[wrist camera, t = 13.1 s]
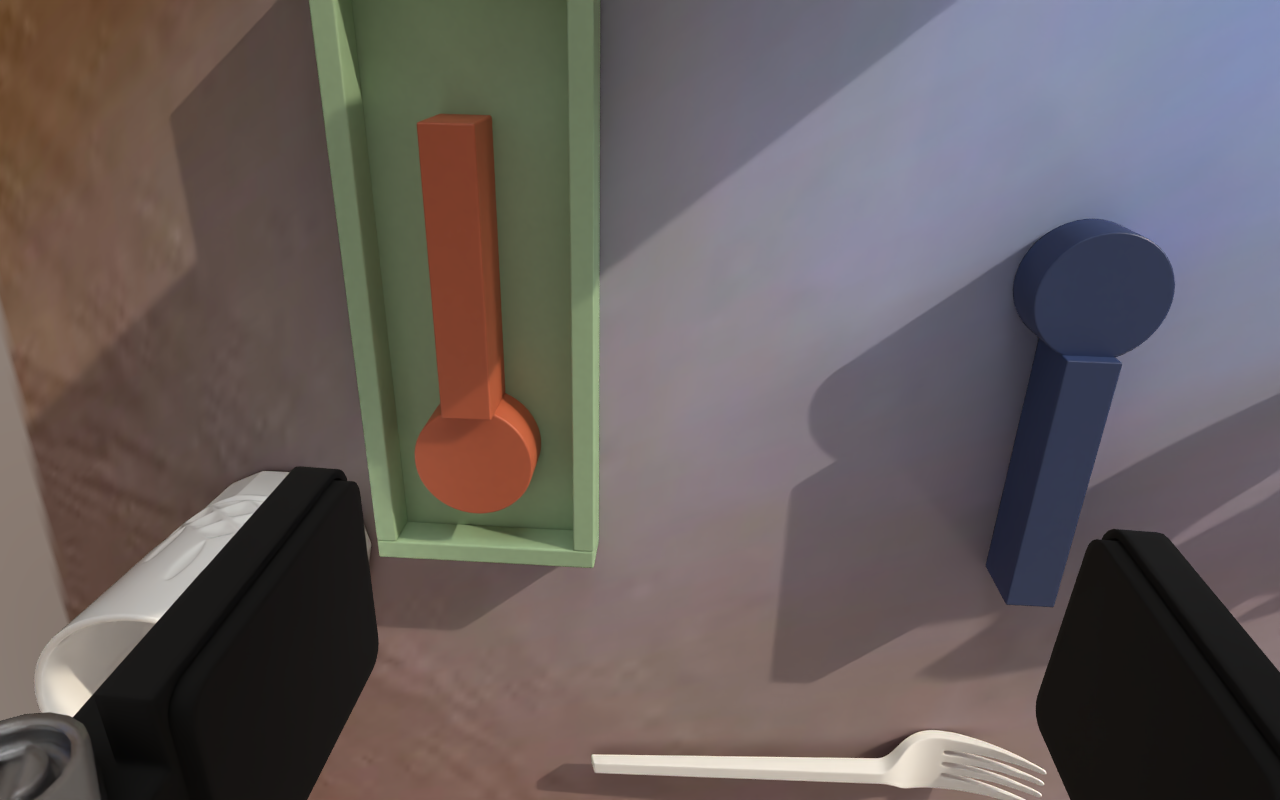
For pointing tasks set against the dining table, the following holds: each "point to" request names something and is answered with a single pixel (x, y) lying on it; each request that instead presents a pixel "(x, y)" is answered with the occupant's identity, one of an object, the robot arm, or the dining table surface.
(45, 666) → the white cup
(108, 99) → the dining table surface
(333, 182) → the tray
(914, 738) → the fork
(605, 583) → the dining table surface
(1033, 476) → the blue spoon
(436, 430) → the terracotta spoon
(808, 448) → the dining table surface
